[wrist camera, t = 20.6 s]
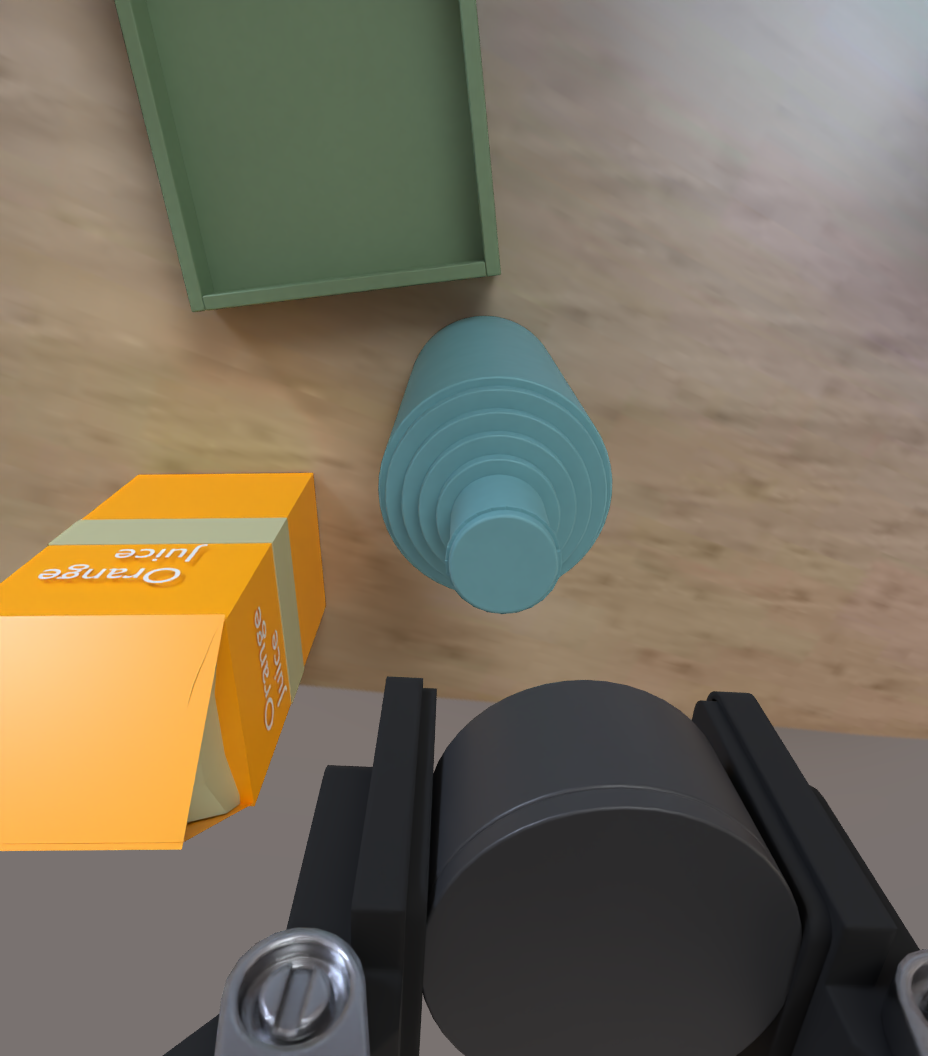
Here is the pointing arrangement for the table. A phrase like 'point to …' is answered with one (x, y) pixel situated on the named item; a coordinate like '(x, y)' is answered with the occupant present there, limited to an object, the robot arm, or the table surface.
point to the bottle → (493, 467)
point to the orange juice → (155, 660)
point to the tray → (316, 143)
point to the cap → (599, 885)
